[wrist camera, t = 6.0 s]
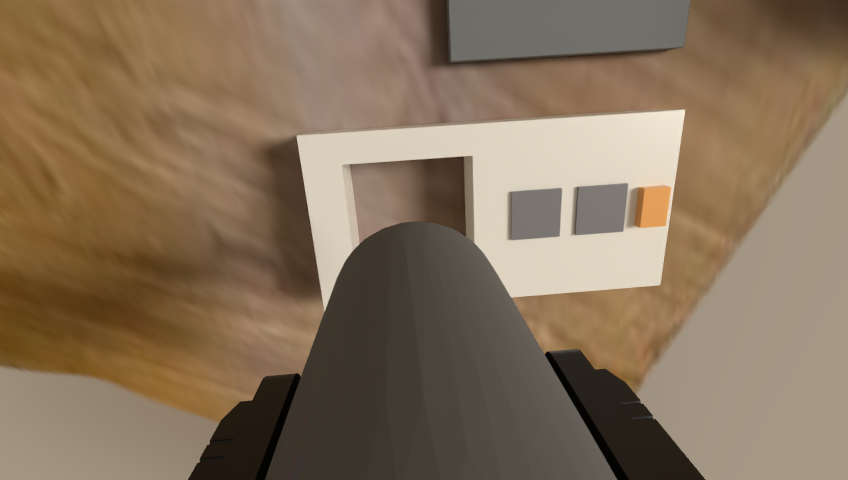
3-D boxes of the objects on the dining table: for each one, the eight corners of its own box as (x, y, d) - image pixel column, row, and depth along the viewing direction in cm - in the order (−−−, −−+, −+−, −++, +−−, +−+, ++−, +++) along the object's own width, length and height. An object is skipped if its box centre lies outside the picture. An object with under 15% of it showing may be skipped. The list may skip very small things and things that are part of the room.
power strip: (333, 288, 29) (322, 317, 25) (310, 131, 25) (293, 136, 21) (630, 265, 29) (665, 288, 25) (648, 109, 26) (692, 109, 22)
